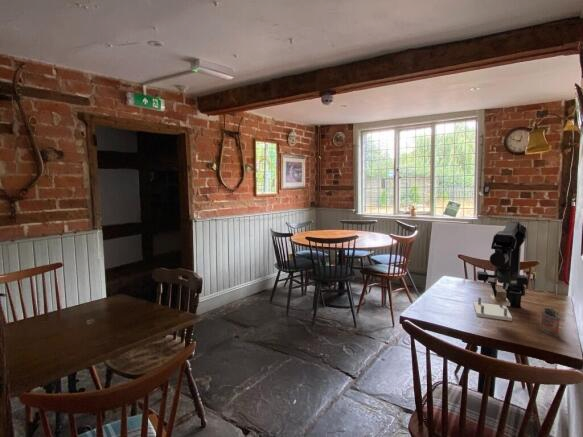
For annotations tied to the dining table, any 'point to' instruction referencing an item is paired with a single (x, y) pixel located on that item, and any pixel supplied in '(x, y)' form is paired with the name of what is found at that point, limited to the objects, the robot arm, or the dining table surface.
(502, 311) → the chassis
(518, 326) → the dining table surface
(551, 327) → the reddish grey rectangular container
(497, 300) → the tan boxy piece
